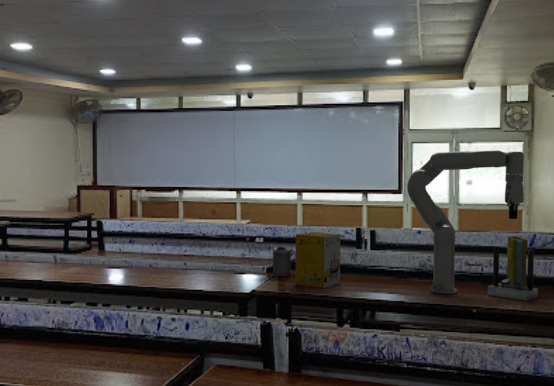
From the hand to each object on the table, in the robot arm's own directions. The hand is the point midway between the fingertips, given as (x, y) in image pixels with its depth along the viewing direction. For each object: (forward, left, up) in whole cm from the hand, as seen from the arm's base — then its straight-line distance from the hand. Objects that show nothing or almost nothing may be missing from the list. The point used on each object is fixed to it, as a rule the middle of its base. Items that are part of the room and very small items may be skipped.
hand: (512, 218), depth 269 cm
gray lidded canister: (-41, +109, -36) cm, 121 cm away
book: (+17, +6, -36) cm, 40 cm away
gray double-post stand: (0, 0, -36) cm, 36 cm away
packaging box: (-44, +80, -36) cm, 98 cm away
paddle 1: (0, +3, -30) cm, 30 cm away
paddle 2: (0, -3, -30) cm, 30 cm away
